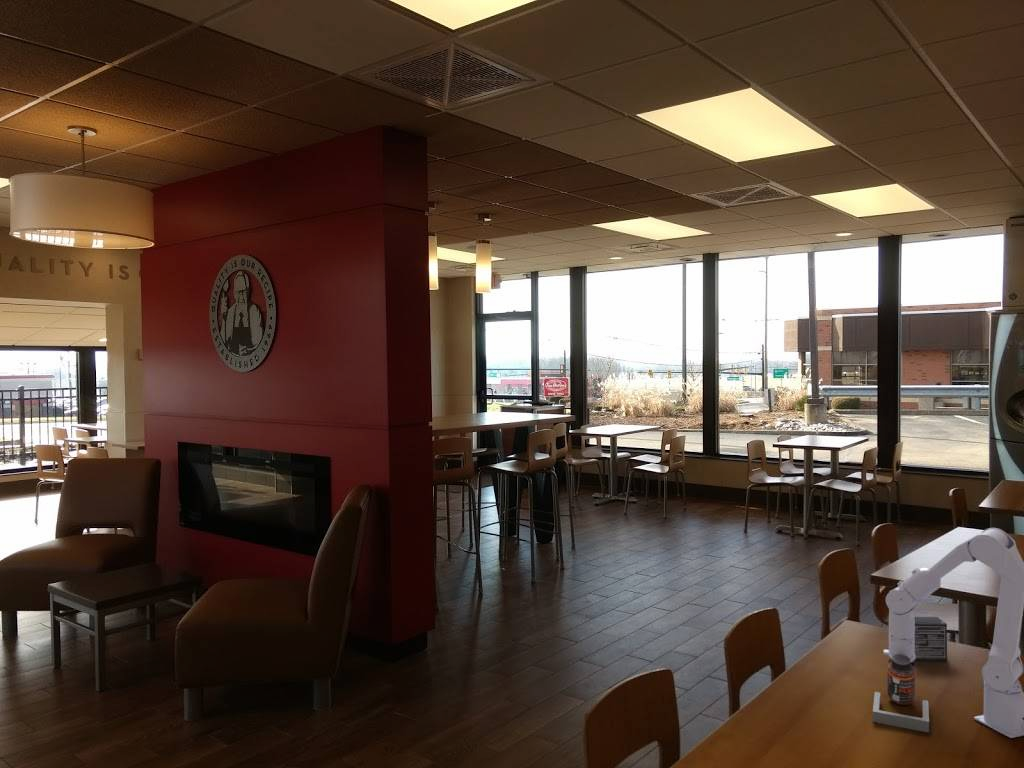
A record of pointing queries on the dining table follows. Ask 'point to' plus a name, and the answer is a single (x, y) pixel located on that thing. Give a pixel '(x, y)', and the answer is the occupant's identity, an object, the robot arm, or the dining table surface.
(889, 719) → the grey u-shaped bracket
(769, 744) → the dining table surface
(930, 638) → the small box
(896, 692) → the supplement bottle
